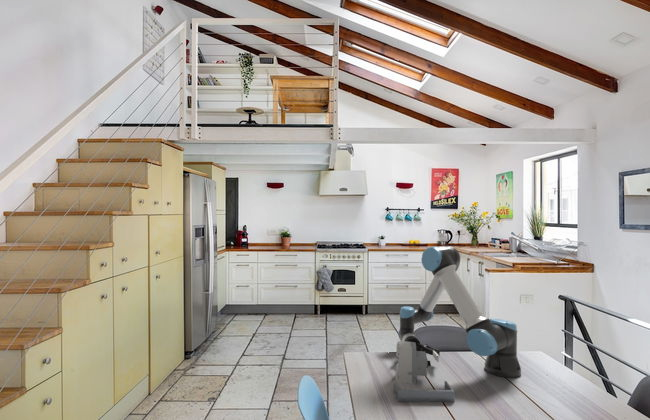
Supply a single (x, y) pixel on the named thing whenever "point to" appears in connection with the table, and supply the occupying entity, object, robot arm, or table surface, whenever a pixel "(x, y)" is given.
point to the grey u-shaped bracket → (424, 394)
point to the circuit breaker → (410, 362)
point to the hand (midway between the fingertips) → (423, 358)
